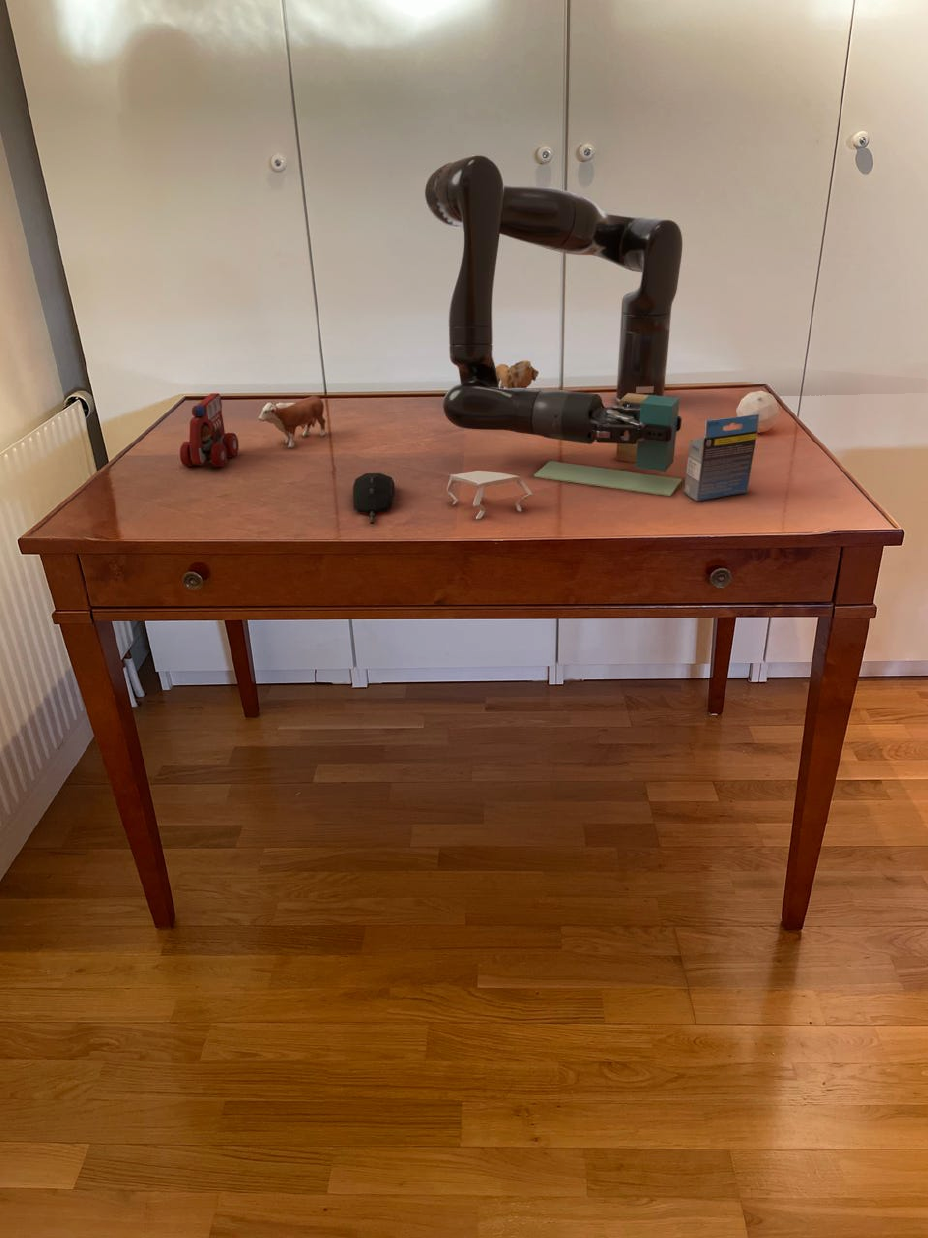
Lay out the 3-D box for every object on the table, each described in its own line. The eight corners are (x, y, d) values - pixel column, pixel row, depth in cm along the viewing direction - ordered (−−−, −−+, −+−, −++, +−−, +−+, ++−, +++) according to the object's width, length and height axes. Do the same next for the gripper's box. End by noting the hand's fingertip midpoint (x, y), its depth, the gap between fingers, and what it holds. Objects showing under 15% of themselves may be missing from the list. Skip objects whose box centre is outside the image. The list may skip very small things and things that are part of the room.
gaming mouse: (349, 525, 126) (347, 499, 124) (355, 487, 139) (352, 462, 137) (394, 523, 126) (392, 497, 124) (395, 485, 139) (393, 461, 137)
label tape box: (733, 485, 135) (744, 405, 129) (749, 494, 132) (760, 413, 126) (683, 493, 133) (691, 413, 127) (697, 503, 130) (706, 421, 123)
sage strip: (549, 462, 146) (549, 460, 146) (682, 480, 137) (682, 478, 137) (533, 476, 141) (533, 475, 140) (670, 496, 132) (670, 494, 132)
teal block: (643, 458, 137) (649, 394, 132) (673, 462, 135) (679, 397, 130) (635, 468, 133) (640, 402, 128) (665, 472, 132) (671, 406, 127)
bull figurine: (259, 449, 156) (252, 403, 152) (319, 430, 165) (314, 386, 160) (274, 454, 154) (268, 408, 149) (334, 434, 162) (329, 390, 158)
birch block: (624, 451, 150) (628, 392, 145) (650, 454, 148) (655, 395, 143) (615, 460, 146) (619, 400, 141) (643, 463, 144) (647, 403, 139)
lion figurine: (541, 406, 174) (542, 360, 169) (519, 411, 171) (520, 364, 167) (498, 390, 184) (498, 346, 180) (477, 395, 182) (476, 350, 177)
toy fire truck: (177, 473, 147) (164, 411, 141) (206, 448, 157) (196, 390, 152) (216, 474, 146) (205, 412, 140) (243, 449, 156) (234, 390, 151)
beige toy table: (453, 523, 126) (452, 490, 123) (446, 501, 133) (445, 470, 130) (536, 516, 127) (536, 484, 124) (524, 495, 134) (525, 464, 132)
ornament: (785, 429, 157) (789, 402, 150) (746, 447, 157) (749, 420, 150) (766, 401, 160) (769, 373, 153) (728, 419, 160) (729, 391, 153)
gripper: (551, 404, 130) (666, 417, 123) (583, 380, 141) (690, 391, 134) (549, 453, 133) (661, 468, 127) (581, 426, 144) (685, 439, 138)
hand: (675, 428), depth 130 cm, fingers closed on teal block, 4 cm apart
